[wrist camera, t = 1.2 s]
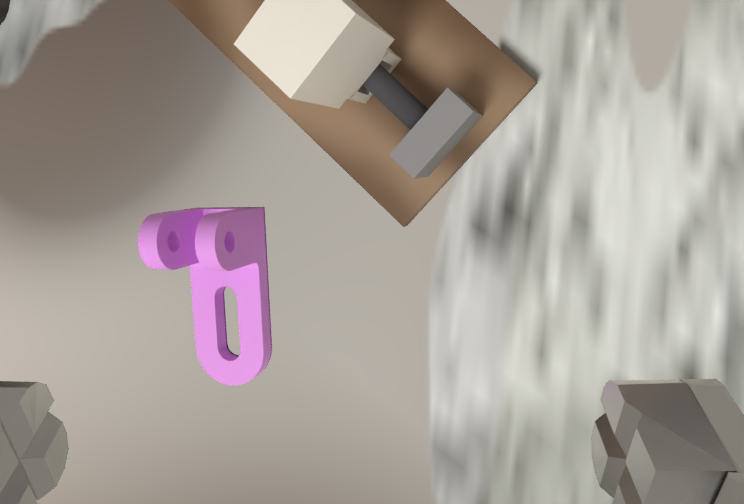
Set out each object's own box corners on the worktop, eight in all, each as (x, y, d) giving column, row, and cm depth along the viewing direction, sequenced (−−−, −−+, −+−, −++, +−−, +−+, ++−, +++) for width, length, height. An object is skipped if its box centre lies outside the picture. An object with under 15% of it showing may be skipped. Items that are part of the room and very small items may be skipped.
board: (202, -217, 42) (193, -225, 41) (537, 83, 38) (536, 81, 37) (109, -62, 46) (99, -67, 45) (407, 225, 42) (403, 226, 41)
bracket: (196, 207, 47) (135, 216, 40) (264, 207, 45) (212, 215, 39) (208, 376, 49) (151, 410, 42) (273, 381, 47) (226, 418, 40)
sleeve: (363, 7, 39) (295, -43, 29) (409, 49, 39) (356, 13, 29) (314, 71, 41) (233, 44, 31) (357, 112, 40) (290, 98, 30)
